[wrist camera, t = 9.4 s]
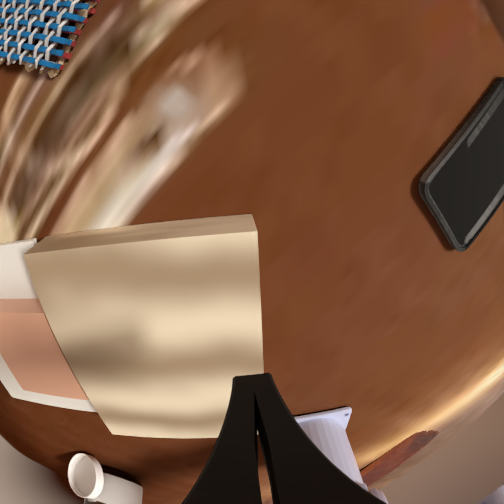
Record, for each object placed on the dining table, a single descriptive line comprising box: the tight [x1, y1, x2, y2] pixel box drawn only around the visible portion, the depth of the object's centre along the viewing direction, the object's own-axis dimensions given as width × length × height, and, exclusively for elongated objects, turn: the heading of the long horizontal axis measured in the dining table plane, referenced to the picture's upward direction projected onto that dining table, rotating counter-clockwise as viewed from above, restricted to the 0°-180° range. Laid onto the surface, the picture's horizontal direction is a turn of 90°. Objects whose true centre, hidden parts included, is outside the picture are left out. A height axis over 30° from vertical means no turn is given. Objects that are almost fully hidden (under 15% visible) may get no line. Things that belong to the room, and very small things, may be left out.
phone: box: [418, 77, 504, 252], centre depth 17 cm, size 8×1×15 cm
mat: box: [0, 238, 97, 412], centre depth 20 cm, size 18×14×1 cm
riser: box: [24, 214, 264, 438], centre depth 19 cm, size 18×14×3 cm
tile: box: [0, 298, 89, 400], centre depth 19 cm, size 9×8×2 cm
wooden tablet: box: [360, 430, 439, 487], centre depth 37 cm, size 27×10×2 cm, turn 146°
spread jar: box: [68, 453, 143, 504], centre depth 25 cm, size 12×11×12 cm
